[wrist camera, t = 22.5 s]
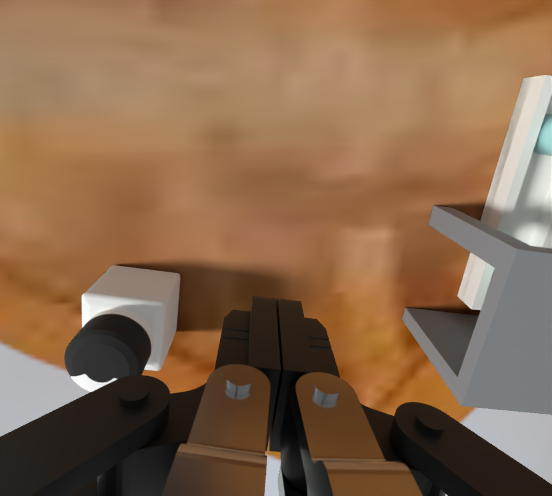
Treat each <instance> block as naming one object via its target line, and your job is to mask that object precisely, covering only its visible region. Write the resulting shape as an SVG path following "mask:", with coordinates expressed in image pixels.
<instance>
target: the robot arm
mask: <svg viewBox="0 0 552 496" xmlns="http://www.w3.org/2000/svg"><path fill="white" fill-rule="evenodd" d="M268 441H269V450H270V451H276V452H281V466H280V471H279V477H278V488H279V496H445V494H447V495H448V496H552V484H550V483H549V482H547V481H546V480H544V479H543V478H541V477H540V476H538V475H537V474H535V473H534V472H532V471H531V470H529V469H528V468H526V467H525V466H523V465H522V464H520V463H519V462H517V461H516V460H514V459H513V458H511V457H510V456H508V455H507V454H505V453H504V452H502V451H501V450H499V449H498V448H496V447H495V446H493V445H492V444H490V443H489V442H487V441H486V440H484V439H483V438H481V437H480V436H478V435H477V434H475V433H474V432H472V431H471V430H469V429H468V428H466V427H465V426H463V425H462V424H460V423H459V422H458V421H456V420H455V419H453V418H452V417H450V416H449V415H447V414H446V413H444V412H442V411H441V410H439V409H437V408H435V407H432V406H430V405H427V404H423V403H418V402H409V403H404V404H402V405H400V406H399V407H398V408H397V410H396V412H395V416H392V415H389V414H386V413H383V412H380V411H377V410H374V409H371V408H368V407H366V406H364V405H362V404H361V403H360V401H359V399H358V397H357V395H356V393H355V391H354V389H353V388H352V387H351V386H350V385H349V384H348V383H347V382H346V381H344V380H343V379H341V378H340V375H339V372H338V369H337V365H336V362H335V358H334V355H333V352H332V350H331V345H330V342H329V338H328V335H327V331H326V328H325V327H324V326H323V325H322V324H321V323H320V322H319V321H318V320H317V319H312V318H304V314H303V309H302V304H301V301H292V300H284V299H277V301H276V299H274V298H265V297H257V296H252V300H251V307H250V312H247V311H238V310H232V311H231V312H230V313H229V314H228V315H227V316H226V317H225V318H224V323H223V328H222V333H221V339H220V344H219V349H218V355H217V360H216V365H215V370H214V371H213V372H212V373H211V374H210V376H209V378H208V380H207V383H205V384H204V385H202V386H201V387H199V388H196V389H194V390H190V391H186V392H180V393H173V394H170V391H169V389H168V387H167V386H166V384H164V383H163V382H162V381H160V380H159V379H156V378H154V377H150V376H144V375H134V376H127V377H123V378H120V379H117V380H115V381H113V382H111V383H109V384H107V385H104V386H102V387H100V388H98V389H96V390H94V391H92V392H90V393H88V394H86V395H84V396H82V397H80V398H78V399H76V400H74V401H72V402H70V403H68V404H66V405H64V406H62V407H60V408H58V409H56V410H54V411H52V412H50V413H48V414H46V415H44V416H42V417H40V418H38V419H36V420H34V421H31V422H29V423H27V424H25V425H23V426H21V427H19V428H17V429H15V430H13V431H11V432H9V433H7V434H5V435H3V436H1V437H0V496H264V492H265V479H266V466H267V456H266V455H265V451H267V447H268Z"/></svg>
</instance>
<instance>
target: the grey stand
mask: <svg viewBox="0 0 552 496" xmlns="http://www.w3.org/2000/svg"><path fill="white" fill-rule="evenodd" d="M429 225H430V226H432V227H433V228H435V229H436V230H438V231H439V232H441V233H442V234H444V235H445V236H447V237H448V238H450V239H451V240H453V241H454V242H456V243H457V244H459V245H460V246H462V247H464V248H465V249H467V250H468V251H470V252H471V253H473V254H474V255H476V256H477V257H479V258H480V259H482V260H483V261H485V262H486V263H488V264H489V265H491V266H492V267H494V268H495V271H494V274H493V277H492V279H491V282H490V285H489V288H488V291H487V294H486V297H485V300H484V303H483V305H482V308H481V311H480V314H479V316H476V315H468V314H459V313H450V312H441V311H433V310H424V309H415V308H407V307H405V310H404V314H403V318H402V320H403V322H404V323H405V325H406V326H407V327H408V329H409V330H410V332H411V333H412V335H413V336H414V338H415V339H416V341H417V342H418V344H419V345H420V346H421V348H422V349H423V351H424V352H425V354H426V355H427V357H428V358H429V360H430V361H431V363H432V364H433V366H434V367H435V368H436V370H437V371H438V373H439V374H440V376H441V377H442V379H443V380H444V382H445V383H446V385H447V386H448V387H449V389H450V390H451V392H452V393H453V395H454V396H455V398H456V399H457V401H458V402H459V404H460V405H461V406H467V407H477V408H488V409H498V410H509V411H519V412H530V413H540V414H551V415H552V249H551V248H544V247H536V246H530V245H528V244H526V243H524V242H522V241H520V240H518V239H516V238H514V237H512V236H510V235H508V234H506V233H503V232H501V231H499V230H497V229H495V228H493V227H491V226H489V225H487V224H485V223H483V222H481V221H479V220H477V219H475V218H473V217H471V216H468V215H466V214H464V213H462V212H460V211H458V210H456V209H454V208H450V207H443V206H436V205H433V209H432V213H431V216H430V220H429Z"/></svg>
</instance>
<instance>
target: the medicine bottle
mask: <svg viewBox="0 0 552 496" xmlns="http://www.w3.org/2000/svg"><path fill="white" fill-rule="evenodd" d="M179 289H180V274H179V273H173V272H165V271H157V270H149V269H140V268H132V267H124V266H116V265H113V266H111V267H110V268H109V269H108V270H107V271H106V272H105V273H104V274H103V275H102V276H101V277H100V278H99V279H98V280H97V281H96V282H95V283H94V284H93V285H92V286H91V287H90V288H89V289H88V290H87V291H86V292H85V293H84V294H83V295H82V329H81V330H80V331H79V332H78V333H77V335H76V336H75V337H74V338H73V339H72V341H71V342H70V343H69V345H68V346H67V348H66V351H65V365H66V368H67V371H68V373H69V374H70V376H71V378H72V379H73V380H74V381H75V382H76V383H77V384H78V385H79V386H80V387H82V388H84V389H86V390H87V391H90V392H92V391H94V390H96V389H98V388H100V387H102V386H104V385H107V384H109V383H111V382H113V381H115V380H117V379H120V378H123V377H127V376H134V375H142V373H143V370H144V369H145V370H155V371H159V370H160V369H161V368H162V365H163V363H164V360H165V358H166V355H167V353H168V350H169V348H170V345H171V343H172V340H173V338H174V335H175V333H176V329H177V316H178V303H179Z"/></svg>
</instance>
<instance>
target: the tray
mask: <svg viewBox="0 0 552 496" xmlns="http://www.w3.org/2000/svg"><path fill="white" fill-rule="evenodd" d="M480 221H481V222H483V223H485V224H487V225H489V226H491V227H493V228H495V229H497V230H499V231H501V232H503V233H506V234H508V235H510V236H512V237H514V238H516V239H518V240H520V241H522V242H524V243H526V244H528V245H530V246H536V247H544V248H551V249H552V76H549V75H543V76H536V77H529V78H523V81H522V85H521V88H520V91H519V95H518V98H517V101H516V105H515V108H514V111H513V114H512V118H511V121H510V124H509V128H508V131H507V134H506V137H505V141H504V144H503V147H502V151H501V154H500V157H499V161H498V164H497V167H496V170H495V174H494V177H493V180H492V184H491V187H490V190H489V193H488V197H487V200H486V203H485V207H484V210H483V213H482V217H481V220H480ZM494 271H495V268H494V267H492V266H491V265H489V264H488V263H486V262H485V261H483V260H482V259H480V258H479V257H477V256H476V255H474V254H473V253H470V256H469V259H468V263H467V266H466V269H465V273H464V276H463V279H462V282H461V286H460V289H459V292H458V297H459V298H460V299H461V300H462V301H463V302H464V303H465V304H466V305H467V306H468V307H469V308H470V309H473V310H481V308H482V305H483V303H484V300H485V297H486V294H487V291H488V288H489V285H490V282H491V279H492V277H493V274H494Z"/></svg>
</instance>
